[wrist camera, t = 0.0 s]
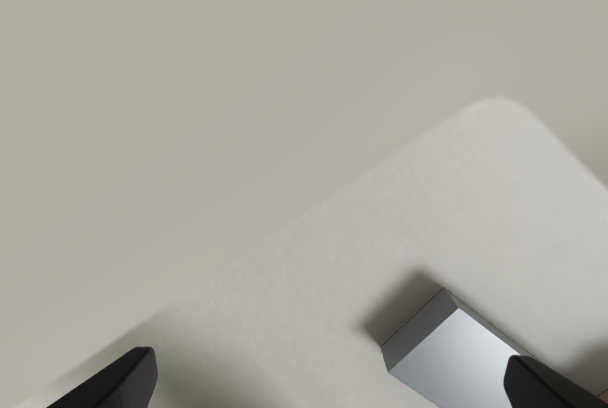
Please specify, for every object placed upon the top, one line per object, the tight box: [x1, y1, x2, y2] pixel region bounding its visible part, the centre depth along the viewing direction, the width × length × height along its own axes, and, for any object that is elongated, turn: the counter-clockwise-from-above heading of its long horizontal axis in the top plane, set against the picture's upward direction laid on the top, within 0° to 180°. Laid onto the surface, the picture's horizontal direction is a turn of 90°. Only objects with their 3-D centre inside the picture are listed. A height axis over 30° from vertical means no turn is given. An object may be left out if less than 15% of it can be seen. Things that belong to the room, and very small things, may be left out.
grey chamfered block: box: [381, 288, 543, 408], centre depth 25 cm, size 16×7×2 cm, turn 52°
